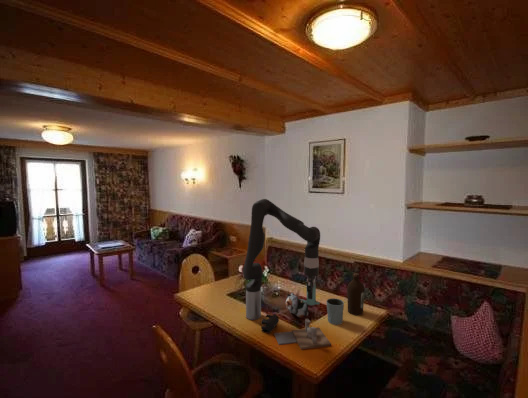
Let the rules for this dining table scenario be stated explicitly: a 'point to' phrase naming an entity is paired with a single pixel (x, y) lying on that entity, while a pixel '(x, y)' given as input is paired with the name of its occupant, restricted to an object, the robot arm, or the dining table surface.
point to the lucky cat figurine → (296, 306)
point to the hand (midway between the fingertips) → (310, 296)
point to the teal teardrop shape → (313, 300)
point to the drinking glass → (335, 311)
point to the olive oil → (355, 296)
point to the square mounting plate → (310, 337)
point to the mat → (285, 338)
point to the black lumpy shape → (269, 323)
